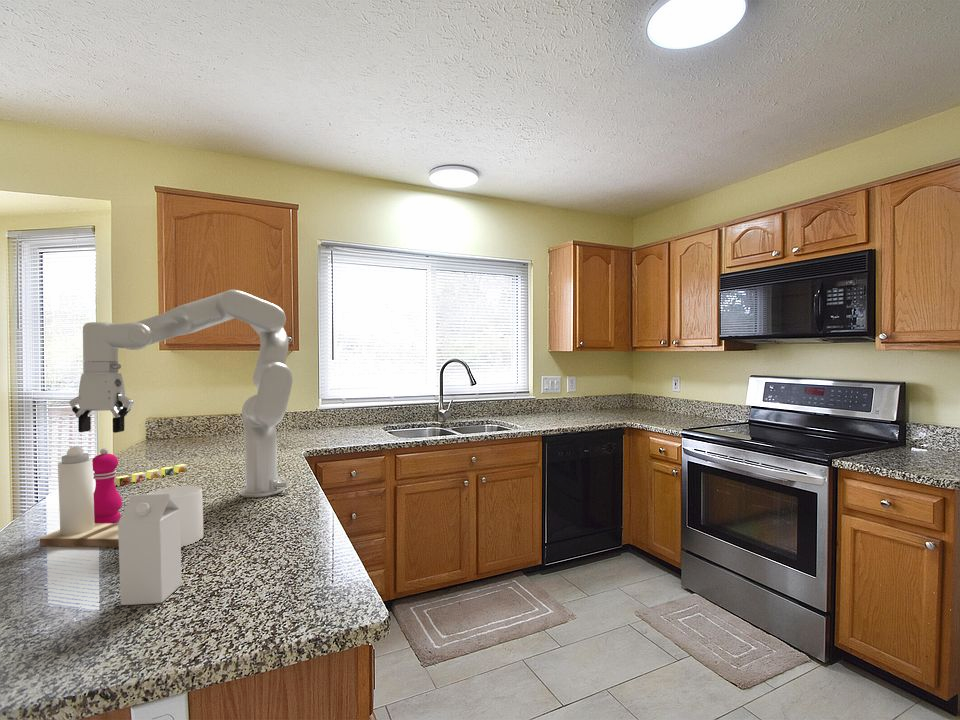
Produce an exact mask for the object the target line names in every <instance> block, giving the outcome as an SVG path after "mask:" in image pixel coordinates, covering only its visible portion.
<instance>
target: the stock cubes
mask: <svg viewBox="0 0 960 720" xmlns="http://www.w3.org/2000/svg"><path fill="white" fill-rule="evenodd" d="M185 471H188V464H185V463H181V464H177V465H173V466H165V467H161V468H160V469H158V468H157V469H150V470H146V471H145V472H142V471H141V472H140V471H139V472H134V473H131V476H130V475H126V474H125V475H120V476H115V479H114V482H115V486H116V485H117V486H116V487H119V486H121V487H124V486H123V485H125V486H128V485H127V484H130V485H131V483H133V482H140V481H144V480H146V481H147V479H146V478H149V479H153V478H158V477H160V478H161V475H164V476H166V475H171V474H174V475H175V473H174V472H177V473H180V472H185ZM158 479H159V478H158ZM144 482H145V481H144ZM140 483H141V482H140Z"/></svg>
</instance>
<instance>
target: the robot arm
mask: <svg viewBox="0 0 960 720" xmlns="http://www.w3.org/2000/svg"><path fill="white" fill-rule="evenodd" d="M234 319H235V320H238V321H241V322H242V323H246V324H249V325H250V327H251V328H252V329H253V330H254V331H255V332H256V333H257V335H258V337H259V339H260V347H259V352H258V356H257V360H256V364H255V368H254V372H253V376H252V381H253V384H254V385H255V387H256V388H258V391H257V394H254V395H251V396H249V397H248V398H247V399H246V400H244V403H243V405H242V409H241V418H242V424H243V425H242V426H243V434H244V435H243V437H244V438H243V439H244V468H245V469H244V471H245V472H244V474H245V476H244V477H245V479H244V480H245V481H244V482H245V487H244V488H242V489H241V490H240V492H239V493H240V496H241V497H243V498H263V497H264V498H265V497H269V496H273V495H276V494H279V493H281V492H283V490H284V488H285V489H286V488H289V486H290V481H289V480H287V479H286V480H284V479H283V480H282V476H281V475H279V474H278V445H277V443H278V441H277V439H278V436H277V427H276V425H278V424H279V423H280V422H282V420H283V418H284V417H285V414H286V411H287V407H288V405H289V404H288V402H289V400H290V394H291V391H292V390H291V389H292V386H293V373H292V370H291V369H290V368H289V366H288V365H287V364H286V361H287V357H288V352H289V336H288V334H287V332H286V330H285V328H284V327H285V325H286V322H287V317H286V313H285V311H284V310H283V309H282V308H281V307H280V306H278V305H276V304H274V303H271V302H269V301H267V300H264V299H261V298H259V297H257V296H254V295H252V294H250V293H247V292H244V291H242V290H239V289H228V290H225V291H223V292H220V293H217V294H213V295H210V296H208V297H203V298H200V299H197V300H195V301H194V300H193V301H190V302H189V303H185V304H181V305H178V306H176V307H174V308H172V309H169V310H168V311H166V312H165V311H164V312H162V313H160V314H157V315H154V316H152V317H149V318H145V319H141V320H138V321H135V322H124V323H123V322H122V323H112V322H102V321H100V322H97V321H95V322H94V321H93V322H92V321H91V322H86V323H85V324H83V326H82V359H83V360H82V368H83V369H82V373H81V375H80V380H79V386H78V396H75V397H74V398H73V399H71V400H69V401H68V403H69V406H70V407H71V410H72V412H73V413H74V414H75V417H76V418H77V421H78V429H77V430H78V433H86V432H90V431H92V428H91V427H92V424H91V423H92V422H91V421H92V420H91V418H92V417H91V415H90V414H91V412H92V411H93V412H94V411H96V412H97V411H101V412H102V411H110V412H111V413H112V415H113V416H114V417H113V418H112V433H113V434H115V433H120V432H124V431H125V417H126V416H127V415H128V413H130V411H131V408H133V407H132V406H133V404H134V400H132V399H131V398H129V397H128V396H126V389H125V384H124V379H123V375H122V373H121V372H120V373H119V370H121V367H122V365H121V364H120V363H119V349H126V350H129V351H130V350H131V351H135V350H136V351H139V350H143V349H145V348H148V346H151V345H154V344H157V343H160V342H163V341H165V340H169V339H172V338H175V337H179V336H186V335H190V334H193V333H196V332H198V331H201V330H204V329H207V328H208V329H209V328H210V327H214V326H217V325H219V324H223V323H225V322H228V321H231V320H234Z"/></svg>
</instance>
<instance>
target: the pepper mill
mask: <svg viewBox="0 0 960 720" xmlns="http://www.w3.org/2000/svg"><path fill="white" fill-rule="evenodd" d="M99 452H100V454H97V455H95V456H94V457H93V458H91V459H92V460H93V480H94V481H95V487H94V490H93V492H94V523H113V522H114V523H117V522H119V520H120V518H121V512H119V510H121V508H122V506H123V499H122V497H121V495H120V493H119V492H118V490H117V488H116V487H117V486H116V485H115V477H117V470H116V468H118V465H119V459H118V457H117V456H116V455H115V454H112V453H109V449H108V448H105V447H102V448H101V449H100V451H99ZM116 521H117V522H116Z"/></svg>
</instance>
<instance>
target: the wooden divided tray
mask: <svg viewBox="0 0 960 720" xmlns="http://www.w3.org/2000/svg"><path fill="white" fill-rule="evenodd" d="M84 546H85V547H84ZM86 546H101V547H100V548H119V536H118V522H114V523H95V528H94V529H92V530H90V531H88V532H84V533H80V534H75V535H61V534H60V529H57V530H56V531H53V532H50V533H48V534H45V535H43V536H40V537H39V547H66V548H67V547H69V548H70V547H71V548H72V547H77V548H78V547H79V548H81V547H83V548H87V547H86Z"/></svg>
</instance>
